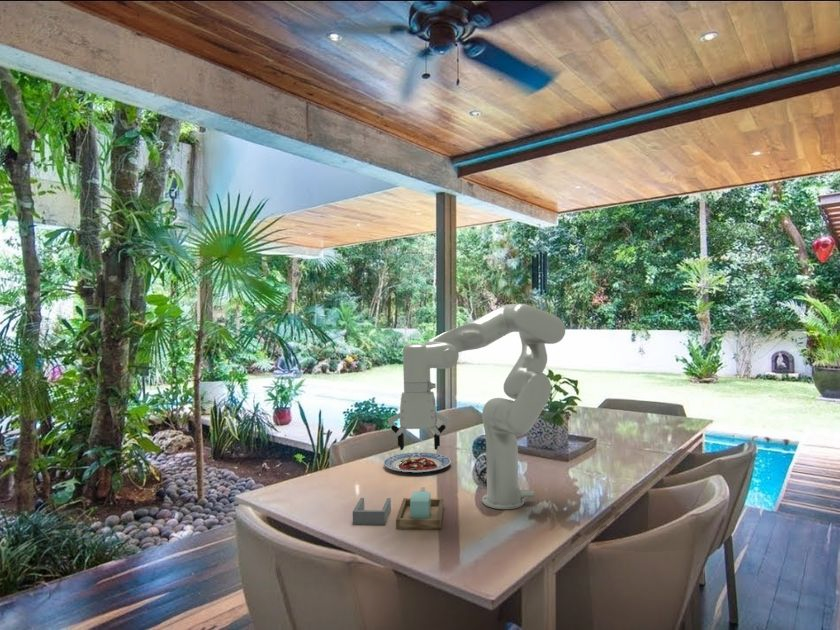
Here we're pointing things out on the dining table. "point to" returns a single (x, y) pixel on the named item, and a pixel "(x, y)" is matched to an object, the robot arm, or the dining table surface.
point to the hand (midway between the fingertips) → (419, 448)
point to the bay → (371, 514)
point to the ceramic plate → (417, 462)
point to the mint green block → (420, 504)
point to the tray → (417, 523)
